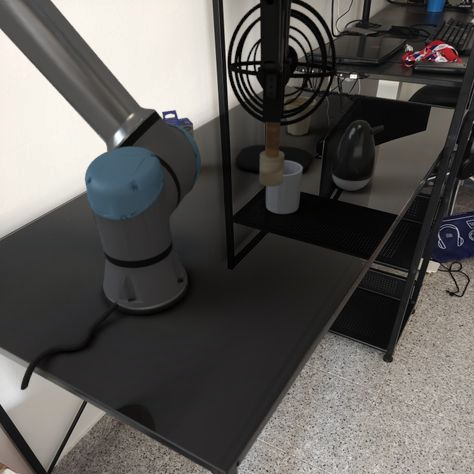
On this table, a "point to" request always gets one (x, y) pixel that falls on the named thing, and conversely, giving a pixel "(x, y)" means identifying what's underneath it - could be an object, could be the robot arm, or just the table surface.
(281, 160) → the brush
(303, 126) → the flower pot
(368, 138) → the pump dispenser
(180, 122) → the ink cartridge box
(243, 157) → the desk fan
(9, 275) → the table surface
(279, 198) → the white plastic cup
